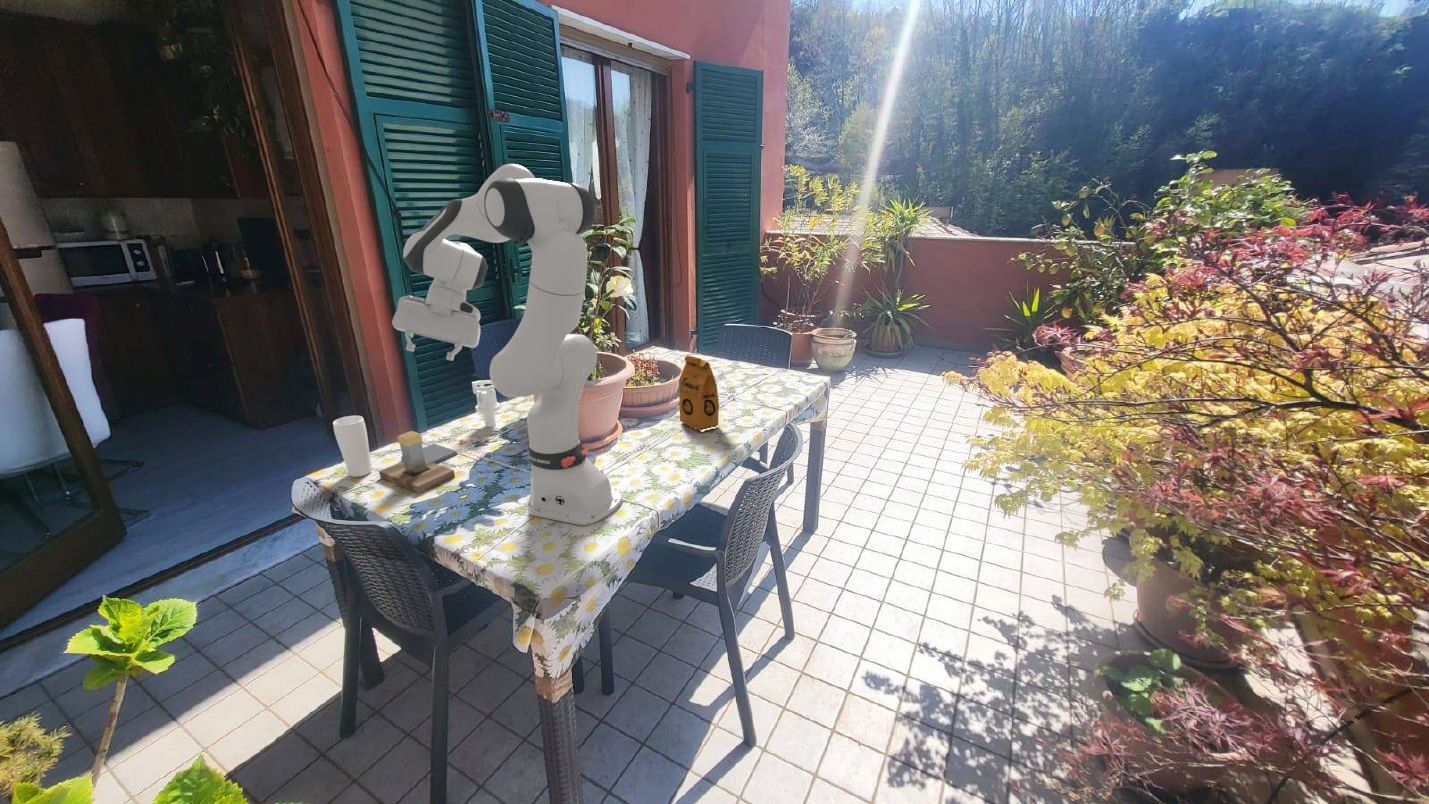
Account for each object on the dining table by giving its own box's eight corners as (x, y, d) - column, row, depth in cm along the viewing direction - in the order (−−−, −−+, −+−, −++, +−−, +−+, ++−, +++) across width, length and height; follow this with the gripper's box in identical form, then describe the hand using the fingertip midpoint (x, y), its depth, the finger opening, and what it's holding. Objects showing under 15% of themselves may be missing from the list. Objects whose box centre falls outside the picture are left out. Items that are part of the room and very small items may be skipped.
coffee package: (697, 435, 172) (697, 366, 164) (675, 423, 181) (674, 356, 173) (723, 428, 177) (724, 360, 169) (701, 416, 186) (700, 351, 179)
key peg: (429, 476, 147) (420, 433, 143) (415, 482, 144) (406, 439, 140) (419, 472, 149) (411, 430, 144) (406, 478, 146) (397, 436, 141)
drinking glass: (340, 475, 147) (326, 422, 142) (365, 465, 153) (353, 413, 147) (355, 481, 144) (342, 427, 139) (381, 470, 150) (369, 418, 144)
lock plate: (454, 476, 147) (453, 470, 146) (419, 493, 138) (417, 486, 138) (416, 462, 154) (415, 456, 153) (380, 478, 146) (378, 471, 145)
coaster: (457, 454, 159) (456, 451, 159) (424, 468, 151) (423, 465, 150) (434, 446, 164) (433, 443, 163) (401, 460, 155) (400, 456, 155)
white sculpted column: (475, 424, 179) (468, 379, 174) (498, 419, 183) (492, 375, 178) (482, 431, 174) (475, 385, 169) (505, 426, 178) (499, 380, 173)
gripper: (398, 288, 140) (381, 341, 137) (484, 310, 145) (469, 362, 142) (404, 297, 146) (388, 347, 143) (486, 317, 151) (472, 367, 148)
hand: (429, 355), depth 143 cm, fingers open, 8 cm apart
